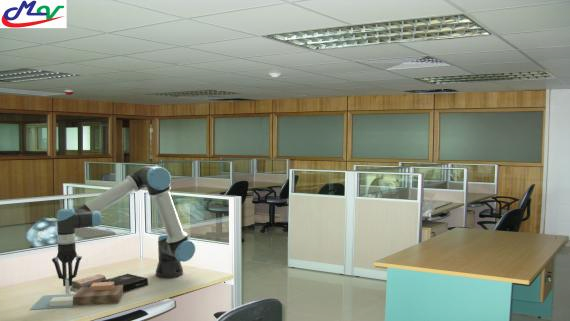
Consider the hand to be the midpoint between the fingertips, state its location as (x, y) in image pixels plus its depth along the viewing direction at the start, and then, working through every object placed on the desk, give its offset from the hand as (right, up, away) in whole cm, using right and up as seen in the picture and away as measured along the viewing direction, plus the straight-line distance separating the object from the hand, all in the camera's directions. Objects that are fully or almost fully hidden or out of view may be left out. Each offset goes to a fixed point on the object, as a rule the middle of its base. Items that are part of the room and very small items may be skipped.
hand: (68, 292), depth 228 cm
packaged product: (-2, -5, +28) cm, 28 cm away
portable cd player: (+17, -5, +27) cm, 33 cm away
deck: (+12, -5, +6) cm, 14 cm away
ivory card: (-2, -5, 0) cm, 5 cm away
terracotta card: (+12, -1, +10) cm, 16 cm away
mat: (-7, -5, +4) cm, 9 cm away
